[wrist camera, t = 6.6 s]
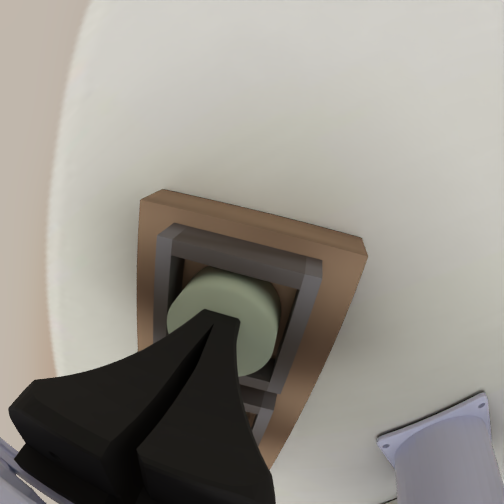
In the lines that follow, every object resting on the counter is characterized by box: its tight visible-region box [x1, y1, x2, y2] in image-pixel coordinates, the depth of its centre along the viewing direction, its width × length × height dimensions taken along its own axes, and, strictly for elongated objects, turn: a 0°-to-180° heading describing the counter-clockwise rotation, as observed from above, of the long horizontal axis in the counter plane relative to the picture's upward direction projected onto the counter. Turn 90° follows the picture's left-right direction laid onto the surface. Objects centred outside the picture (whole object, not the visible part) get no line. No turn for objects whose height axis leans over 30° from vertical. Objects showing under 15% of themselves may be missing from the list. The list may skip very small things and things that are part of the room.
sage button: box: [167, 266, 281, 377], centre depth 12 cm, size 4×4×2 cm
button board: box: [137, 189, 368, 470], centre depth 16 cm, size 21×9×4 cm, turn 169°
